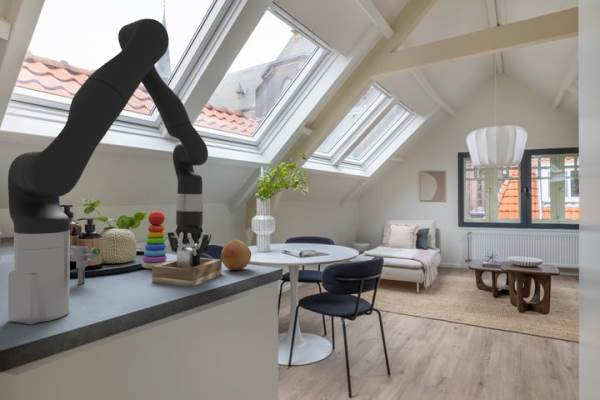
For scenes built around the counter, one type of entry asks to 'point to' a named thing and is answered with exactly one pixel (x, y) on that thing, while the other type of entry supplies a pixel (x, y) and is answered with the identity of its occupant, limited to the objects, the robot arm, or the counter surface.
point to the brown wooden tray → (186, 272)
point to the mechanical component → (83, 259)
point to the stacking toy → (155, 241)
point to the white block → (185, 258)
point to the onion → (236, 255)
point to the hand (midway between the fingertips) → (188, 266)
